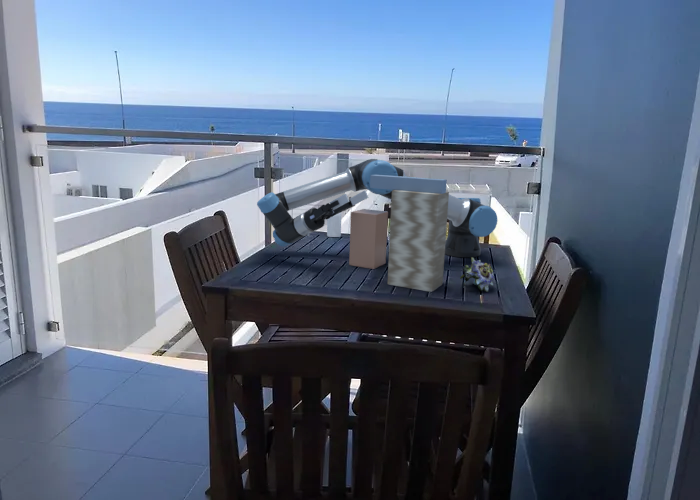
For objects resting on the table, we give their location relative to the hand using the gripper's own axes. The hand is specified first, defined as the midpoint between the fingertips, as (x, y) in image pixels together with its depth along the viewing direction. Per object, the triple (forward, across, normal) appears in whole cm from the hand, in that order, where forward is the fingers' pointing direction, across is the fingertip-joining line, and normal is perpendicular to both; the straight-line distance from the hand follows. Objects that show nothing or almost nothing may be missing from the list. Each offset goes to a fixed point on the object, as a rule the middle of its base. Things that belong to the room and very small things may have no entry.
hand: (357, 195), depth 174 cm
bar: (+17, 0, -6) cm, 18 cm away
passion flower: (+21, -7, -43) cm, 49 cm away
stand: (+6, 0, -34) cm, 35 cm away
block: (-16, -15, -22) cm, 31 cm away
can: (-48, -53, -4) cm, 71 cm away
